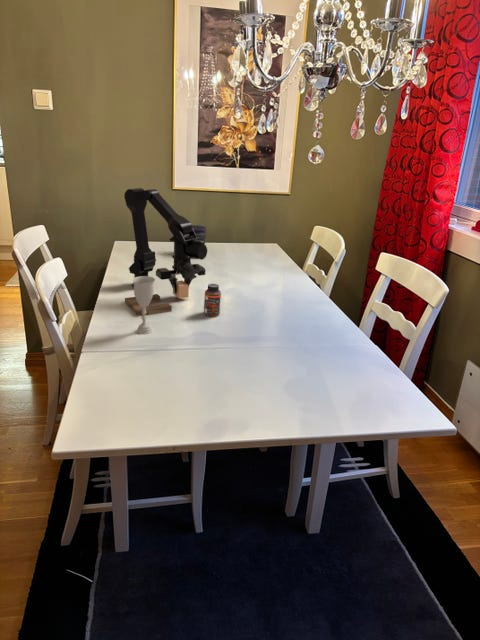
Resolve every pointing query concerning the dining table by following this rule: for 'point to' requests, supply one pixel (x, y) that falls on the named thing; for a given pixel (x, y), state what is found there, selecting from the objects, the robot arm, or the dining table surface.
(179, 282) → the block
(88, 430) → the dining table surface
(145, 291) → the chalice
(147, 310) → the notched board
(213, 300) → the supplement bottle
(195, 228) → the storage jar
